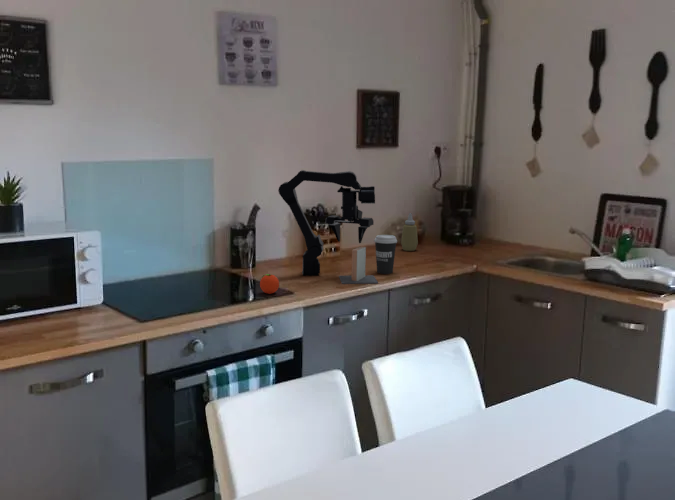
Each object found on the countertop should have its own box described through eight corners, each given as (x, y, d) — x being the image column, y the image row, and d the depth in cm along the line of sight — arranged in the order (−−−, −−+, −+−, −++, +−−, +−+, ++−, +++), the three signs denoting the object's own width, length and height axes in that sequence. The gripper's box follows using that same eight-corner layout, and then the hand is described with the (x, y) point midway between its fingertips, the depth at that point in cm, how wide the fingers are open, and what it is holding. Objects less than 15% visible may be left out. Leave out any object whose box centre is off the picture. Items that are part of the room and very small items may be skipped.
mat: (341, 283, 268) (341, 282, 268) (338, 276, 280) (338, 275, 280) (378, 283, 270) (378, 282, 270) (373, 276, 281) (373, 275, 281)
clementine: (254, 292, 253) (253, 273, 252) (269, 289, 258) (269, 270, 257) (268, 296, 248) (268, 277, 246) (283, 293, 252) (283, 274, 251)
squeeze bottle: (398, 249, 341) (399, 212, 338) (413, 248, 344) (414, 211, 340) (404, 252, 334) (405, 214, 330) (420, 251, 336) (421, 214, 333)
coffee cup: (369, 270, 293) (370, 235, 290) (390, 269, 296) (391, 234, 293) (378, 275, 284) (379, 238, 281) (400, 273, 287) (401, 237, 284)
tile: (351, 280, 272) (352, 250, 270) (359, 276, 279) (359, 246, 277) (357, 281, 271) (358, 250, 269) (365, 276, 278) (365, 247, 276)
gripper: (378, 202, 281) (378, 240, 284) (336, 200, 289) (336, 237, 292) (368, 205, 271) (367, 245, 274) (324, 203, 279) (325, 241, 282)
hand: (349, 242), depth 280 cm, fingers open, 9 cm apart
